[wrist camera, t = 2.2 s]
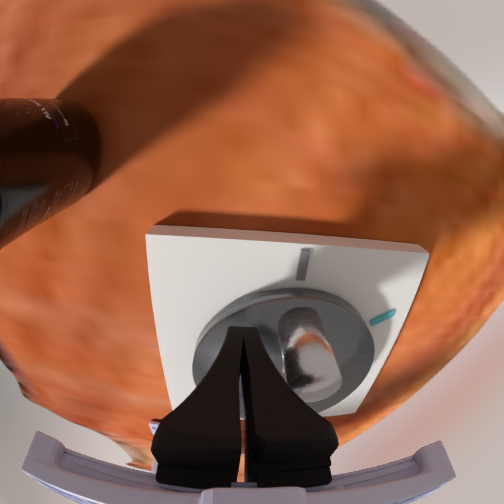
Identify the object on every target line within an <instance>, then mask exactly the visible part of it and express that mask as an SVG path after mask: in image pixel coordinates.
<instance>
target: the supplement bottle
mask: <svg viewBox="0 0 504 504" xmlns="http://www.w3.org/2000/svg"><path fill="white" fill-rule="evenodd" d="M99 158H100V141H99V135H98V131H97V128H96V125H95V123H94V121H93V119H92V117H91V116H90V114H89V113H88V112H87V111H86V110H85V109H84V108H83V107H82V106H80V105H79V104H77V103H75V102H72V101H69V100H61V99H44V98H5V99H0V250H1V249H2V248H3V247H5V246H6V245H8V244H9V243H11V242H12V241H14V240H15V239H17V238H18V237H20V236H21V235H23V234H24V233H26V232H27V231H29V230H31V229H32V228H34V227H35V226H37V225H39V224H40V223H42V222H44V221H45V220H47V219H49V218H50V217H52V216H54V215H56V214H57V213H59V212H61V211H63V210H64V209H66V208H68V207H69V206H71V205H73V204H74V203H76V202H77V201H78V200H80V199H81V198H82V197H83V196H84V195H85V193H86V192H87V191H88V189H89V188H90V186H91V184H92V182H93V180H94V178H95V175H96V172H97V169H98V165H99Z"/></svg>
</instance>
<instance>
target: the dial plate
mask: <svg viewBox="0 0 504 504" xmlns="http://www.w3.org/2000/svg"><path fill="white" fill-rule="evenodd" d="M146 248H147V260H148V270H149V280H150V289H151V297H152V305H153V312H154V319H155V326H156V332H157V338H158V344H159V349H160V355H161V360H162V365H163V370H164V375H165V380H166V384H167V389H168V393H169V398H170V402H171V406H172V410H174V409H175V408H176V407H177V406H179V405H180V404H181V403H182V402H183V401H184V400H185V399H186V398H187V397H188V396H189V395H190V394H191V392H192V391H193V390H194V389H195V388H196V385H195V382H194V380H193V375H192V363H193V357H194V352H195V347H196V342H197V340H198V337H199V335H200V333H201V331H202V330H203V328H204V327H205V325H206V324H207V323H208V322H209V321H210V320H211V319H212V318H213V317H214V316H215V315H216V314H217V313H219V312H220V311H221V310H222V309H224V308H225V307H227V306H229V305H230V304H232V303H234V302H236V301H238V300H240V299H242V298H244V297H247V296H250V295H253V294H256V293H259V292H264V291H268V290H273V289H281V288H309V289H316V290H320V291H325V292H328V293H331V294H333V295H336V296H338V297H340V298H342V299H344V300H346V301H347V302H348V303H349V304H351V305H352V306H353V307H354V308H355V309H356V310H357V311H358V312H359V313H360V315H361V316H362V318H363V320H364V322H365V323H366V325H367V327H368V329H369V331H370V333H371V335H372V338H373V341H374V347H375V353H374V360H373V363H372V366H371V368H370V371H369V373H368V374H367V376H366V378H365V379H364V380H363V382H362V383H361V384H360V385H359V387H358V388H357V389H356V390H355V391H354V392H352V393H351V394H350V395H349V396H348V397H346V398H345V399H344V400H342V401H341V402H339V403H338V404H336V405H334V406H332V407H330V408H328V409H326V410H324V411H322V412H319V413H318V414H319V415H321V416H322V417H325V416H335V415H343V414H351V413H355V412H356V410H357V409H358V407H359V406H360V404H361V403H362V401H363V399H364V398H365V396H366V394H367V393H368V391H369V389H370V388H371V386H372V384H373V382H374V381H375V379H376V377H377V375H378V373H379V372H380V370H381V368H382V366H383V364H384V362H385V360H386V358H387V356H388V355H389V353H390V351H391V349H392V347H393V344H394V342H395V340H396V338H397V336H398V334H399V332H400V330H401V327H402V325H403V323H404V321H405V318H406V316H407V314H408V311H409V309H410V307H411V304H412V302H413V299H414V297H415V294H416V292H417V289H418V286H419V284H420V281H421V278H422V275H423V273H424V270H425V267H426V264H427V261H428V258H429V255H430V253H428V252H427V251H426V250H425V249H424V248H422V247H421V246H420V245H419V244H411V243H401V242H390V241H380V240H369V239H358V238H347V237H335V236H323V235H310V234H297V233H284V232H270V231H255V230H240V229H223V228H206V227H188V226H168V225H153V226H152V227H151V228H150V230H149V231H148V232H147V233H146ZM240 419H244V418H240Z"/></svg>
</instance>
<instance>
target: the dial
mask: <svg viewBox="0 0 504 504" xmlns="http://www.w3.org/2000/svg"><path fill="white" fill-rule="evenodd" d="M229 326H242V327H256V328H257V329H258V332H259V335H260V338H261V340H262V342H263V345H264V347H265V349H266V351H267V353H268V355H269V356H270V358H271V360H272V362H273V363H274V365H275V367H276V368H277V370H278V371H279V373H280V374H281V376H282V377H283V378H284V380H285V381H286V382H287V383H288V385H289V386H290V387H291V388H292V389H293V390H294V392H295V393H296V394H297V395H298V396H299V397H300V398H301V399H302V400H303V401H304V402H305V403H306V404H307V405H308V406H310V407H311V408H312V409H313V410H314V411H316V412H317V413H319V412H322V411H324V410H326V409H328V408H330V407H332V406H334V405H336V404H338V403H339V402H341V401H342V400H344V399H345V398H346V397H348V396H349V395H350V394H351V393H352V392H354V391H355V390H356V389H357V388H358V387H359V385H360V384H361V383H362V382H363V380H364V379H365V378H366V376H367V374H368V373H369V371H370V368H371V366H372V363H373V360H374V353H375V347H374V341H373V338H372V335H371V333H370V331H369V329H368V327H367V325H366V323H365V322H364V320H363V318H362V316H361V315H360V313H359V312H358V311H357V310H356V309H355V308H354V307H353V306H352V305H351V304H349V303H348V302H347V301H346V300H344V299H342V298H340V297H338V296H336V295H333V294H331V293H328V292H325V291H320V290H316V289H309V288H281V289H273V290H268V291H264V292H259V293H256V294H253V295H250V296H247V297H244V298H242V299H240V300H238V301H236V302H234V303H232V304H230V305H229V306H227V307H225V308H224V309H222V310H221V311H220V312H219V313H217V314H216V315H215V316H214V317H213V318H212V319H211V320H210V321H209V322H208V323H207V324H206V325H205V327H204V328H203V330H202V331H201V333H200V335H199V337H198V340H197V342H196V347H195V352H194V357H193V363H192V375H193V380H194V382H195V385H196V387H197V385H198V384H199V383H200V382H201V380H202V379H203V378H204V376H205V375H206V373H207V372H208V370H209V369H210V367H211V366H212V364H213V362H214V360H215V359H216V357H217V355H218V353H219V351H220V349H221V347H222V345H223V342H224V340H225V337H226V334H227V329H228V327H229ZM239 399H240V418H244V419H245V416H244V404H243V395H242V386H241V376H240V381H239Z"/></svg>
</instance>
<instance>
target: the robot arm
mask: <svg viewBox="0 0 504 504" xmlns="http://www.w3.org/2000/svg"><path fill="white" fill-rule="evenodd" d="M240 376H241V386H242V395H243V404H244V416H245V481H244V482H237V475H238V471H239V463H240V456H241V424H240V399H239V381H240ZM149 426H150V428H151V431H152V433H153V435H154V437H153V441H152V446H151V452H152V454H153V456H154V458H153V464H152V469H151V473H149V472H144V471H139V470H135V469H130V468H126V467H122V466H119V465H115V464H111V463H108V462H104V461H101V460H97V459H95V458H92V457H89V456H86V455H83V454H80V453H77V452H74V451H72V450H69V449H67V448H65V446H64V445H63V444H62V443H61V442H59V441H58V440H57V439H55V438H53V437H50V436H48V435H46V434H44V433H42V432H39V431H36V433H35V436H34V438H33V440H32V443H31V445H30V448H29V450H28V453H27V455H26V458H25V460H24V463H23V466H22V471H23V472H24V473H26V474H27V475H28V476H30V477H31V478H33V479H34V480H35V481H37V482H38V483H40V484H41V485H43V486H44V487H46V488H47V489H49V490H51V491H53V492H55V493H57V494H59V495H61V496H64V497H66V498H68V499H70V500H72V501H75V502H77V503H79V504H408V503H411V502H413V501H415V500H418V499H420V498H422V497H425V496H427V495H429V494H431V493H432V492H434V491H435V490H437V489H439V488H440V487H442V486H443V485H445V484H446V483H448V482H449V481H451V480H452V479H454V478H455V477H456V475H455V472H454V470H453V467H452V465H451V462H450V460H449V458H448V455H447V453H446V451H445V448H444V446H443V444H442V442H441V441H437V442H435V443H432V444H429V445H427V446H425V447H422V448H421V449H419V450H418V451H417V452H416V453H415V454H414V455H412V456H410V457H407V458H403V459H400V460H397V461H394V462H390V463H387V464H383V465H380V466H376V467H372V468H368V469H363V470H359V471H354V472H349V473H345V474H340V475H334V476H331V471H330V467H329V466H331V460H330V456H331V455H332V454H333V453H334V451H335V450H336V449H337V447H338V445H339V443H338V438H337V435H336V433H335V430H334V428H333V426H332V424H331V423H330V422H329V421H328V420H326V419H325V418H323V417H322V416H321V415H319V414H318V413H317V412H316V411H314V410H313V409H312V408H311V407H310V406H308V405H307V404H306V403H305V402H304V401H303V400H302V399H301V398H300V397H299V396H298V395H297V394H296V393H295V392H294V390H293V389H292V388H291V387H290V386H289V385H288V383H287V382H286V381H285V380H284V378H283V377H282V376H281V374H280V373H279V371H278V370H277V368H276V367H275V365H274V363H273V362H272V360H271V358H270V356H269V355H268V353H267V351H266V349H265V347H264V345H263V342H262V340H261V338H260V335H259V332H258V329H257V328H256V327H242V326H229V327H228V329H227V334H226V337H225V340H224V342H223V345H222V347H221V349H220V351H219V353H218V355H217V357H216V359H215V360H214V362H213V364H212V366H211V367H210V369H209V370H208V372H207V373H206V375H205V376H204V378H203V379H202V380H201V382H200V383H199V384H198V385H197V387H196V388H195V389H194V390H193V391H192V392H191V394H190V395H189V396H188V397H187V398H186V399H185V400H184V401H183V402H182V403H181V404H180V405H179V406H177V407H176V408H175V409H174V410H173V411H171V412H170V413H169V414H168V415H166V416H165V417H164V418H163V419H162V420H161V422H155V421H150V422H149Z"/></svg>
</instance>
